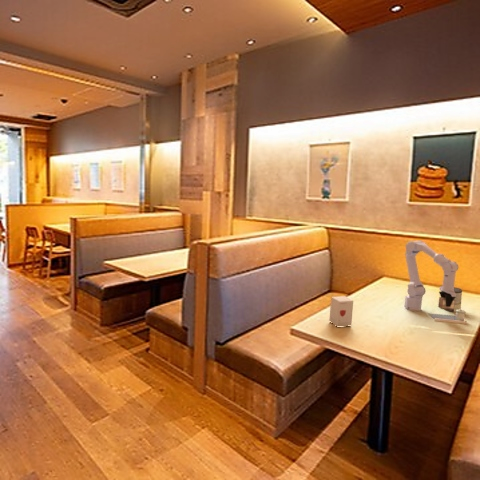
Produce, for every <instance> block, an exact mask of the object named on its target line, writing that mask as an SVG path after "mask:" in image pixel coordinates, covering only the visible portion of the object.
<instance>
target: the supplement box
mask: <svg viewBox="0 0 480 480" xmlns="http://www.w3.org/2000/svg"><path fill="white" fill-rule="evenodd" d="M353 307H354V300H353V299H351V298H349V297H348V296H345V295H341V296H331V297H330V307H329V308H330V309H329V320H328V322H329V321H331V322H332V323H333V324H335V325H336V326H348V325H351V326H352V322H353V321H352V320H353V309H354V308H353ZM333 324H332V325H333ZM336 326H335V327H336Z"/></svg>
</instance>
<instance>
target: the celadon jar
mask: <svg viewBox="0 0 480 480" xmlns="http://www.w3.org/2000/svg"><path fill="white" fill-rule="evenodd" d="M465 315H466V311H465V310H463V309H462V308H461V309H460V310H456V312H455V316H456V317H455V320H459V321H465Z"/></svg>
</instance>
